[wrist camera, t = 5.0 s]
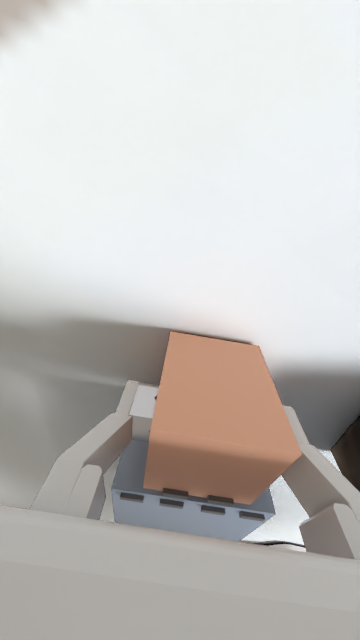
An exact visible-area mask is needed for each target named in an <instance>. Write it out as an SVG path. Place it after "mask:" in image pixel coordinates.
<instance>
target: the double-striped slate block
mask: <svg viewBox="0 0 360 640" xmlns="http://www.w3.org/2000/svg"><path fill="white" fill-rule="evenodd" d="M148 445H149V442H143V441H135V440H131V442H130V444H129V445H128V446H127V447H126V448H125V449H124V451H123V452H122V454H121V458H120V461H119V464H118V468H117V471H116V475H115V478H114V481H113V485H112V488H111V489H112V500H113V510H114V520H115V523H121V524H128V525H134V526H141V527H147V528H154V529H160V530H167V531H173V532H180V533H186V534H193V535H199V536H206V537H213V538H219V539H226V540H232V541H240V540H242V539H243V538H244V537H246V536H247V535H248V534H250V533H251V532H252V531H254V530H255V529H256V528H258V527H259V526H260V525H262V524H263V523H264V522H266V521H267V520H268V519H270V518H271V517H272V516H274V515H275V510H274V505H273V501H272V497H271V493H270V489H269V487H268V488H267V489H266V490H265V491H264V492H263V493H262V494H261V495H260V496H259V497H258V498H257V499H256V500H254V501H253V502H252V503H251V504H250V505H249V504H242V503H236V502H234V505H233V506H225V505H219V504H212V503H207V498H204V497H198V496H191V495H188V499H180V498H174V497H167V496H162V492H163V491H159V490H153V489H146V488H143V483H144V476H145V468H146V460H147V453H148Z"/></svg>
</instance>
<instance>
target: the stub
mask: <svg viewBox="0 0 360 640" xmlns="http://www.w3.org/2000/svg"><path fill="white" fill-rule="evenodd" d="M301 455H302V452H301V450H300V447H299V445H298V442H297V440H296V437H295V435H294V432H293V430H292V427H291V425H290V422H289V420H288V417H287V415H286V412H285V410H284V407H283V405H282V402H281V400H280V397H279V395H278V392H277V390H276V387H275V385H274V382H273V380H272V377H271V375H270V372H269V370H268V367H267V365H266V362H265V360H264V357H263V355H262V352H261V350H260V347H259V346H255V345H249V344H243V343H237V342H231V341H225V340H219V339H213V338H207V337H201V336H195V335H190V334H184V333H178V332H172V331H170V336H169V341H168V346H167V351H166V356H165V361H164V366H163V371H162V375H161V380H160V385H159V390H158V395H157V400H156V405H155V410H154V415H153V420H152V425H151V430H150V437H149V445H148V453H147V460H146V468H145V476H144V483H143V488H146V489H153V490H159V491H163V492H162V496H167V497H174V498H180V499H188V495H191V496H198V497H204V498H207V503H212V504H219V505H225V506H233V505H234V502H236V503H242V504H249V505H250V504H251V503H252V502H253V501H254V500H256V499H257V498H258V497H259V496H260V495H261V494H262V493H263V492H264V491H265V490H266V489H267V488H268V487H269V486H270V485H271V484H272V483H273V482H274V481H275V480H276V479H277V478H278V477H279V476H280V475H281V474H282V473H283V472H284V471H285V470H286V469H287V468H288V467H289V466H290V465H291V464H292V463H293V462H294V461H296V460H297V459H298V458H299V457H300V456H301Z"/></svg>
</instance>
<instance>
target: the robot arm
mask: <svg viewBox="0 0 360 640" xmlns="http://www.w3.org/2000/svg"><path fill="white" fill-rule="evenodd" d="M158 390H159V385H154V384H149V383H143V382H138V381H132V380H128V382H127V383H126V386H125V389H124V391H123V394H122V396H121V399H120V402H119V404H118V407H117V409H116V412H115V413H111V414H109V415H108V416H107V417H106V418H105V419H103V420H102V421H101V422H100V423H99V424H97V425H96V426H95V427H94V428H93V429H91V430H90V431H89V432H88V433H87V434H85V435H84V436H83V437H82V438H81V439H79V440H78V441H77V442H76V443H75V444H73V445H72V446H71V447H70V448H69V449H67V450H66V451H65V452H64V453H63V454H61V455H60V456H59V457H58V458H57V459H56V461H55V463H54V465H53V467H52V468H51V470H50V472H49V474H48V476H47V478H46V480H45V481H44V483H43V485H42V487H41V489H40V491H39V492H38V494H37V496H36V498H35V500H34V502H33V504H32V505H31V507H30V509H23V508H16V507H10V506H3V505H0V640H360V492H359V491H358V490H357V489H356V488H355V487H354V486H353V485H352V484H351V483H350V482H349V481H348V480H347V479H346V478H345V477H344V476H343V475H342V474H341V473H340V472H339V471H338V470H337V469H336V468H335V467H334V466H333V465H332V464H331V463H330V462H329V461H328V460H327V459H326V458H325V457H324V456H323V455H322V454H321V453H320V452H319V451H318V450H317V448H316V447H315V446H314V445H310V444H309V442H308V439H307V437H306V435H305V433H304V431H303V428H302V426H301V424H300V422H299V420H298V417H297V415H296V413H295V411H294V409H293V408H292V407H290V406H284V405H283V407H284V410H285V412H286V415H287V417H288V420H289V422H290V425H291V427H292V430H293V432H294V435H295V437H296V440H297V442H298V445H299V447H300V450H301V452H302V455H301V456H300V457H299V458H298V459H297V460H296V461H294V462H293V463H292V464H291V465H290V466H289V467H288V468H287V469H286V470H285V471H284V472H283V473H282V474H281V475H282V477H283V478H284V480H285V481H286V483H287V484H288V486H289V487H290V489H291V490H292V492H293V493H294V495H295V496H296V498H297V499H298V500H299V502H300V503H301V505H302V506H303V508H304V509H305V511H306V512H307V514H308V515H309V517H310V518H309V519H307V520H305V521H304V522H302V523H301V524H300V526H299V528H300V531H301V535H302V538H303V542H304V545H305V548H304V547H299V546H295V545H290V544H277V545H269V546H265V545H258V544H252V543H245V542H239V541H232V540H226V539H219V538H213V537H206V536H199V535H193V534H186V533H180V532H173V531H167V530H160V529H154V528H147V527H141V526H134V525H128V524H121V523H114V522H108V521H101V520H99V519H100V515H101V512H102V508H103V505H104V501H105V498H106V495H105V488H104V481H103V474H104V473H105V472H106V470H107V469H108V468H109V467H110V466H111V465H112V463H113V462H114V461H115V460H116V459H117V458H118V456H119V455H120V454H121V453H122V452H123V451H124V449H125V448H126V447H127V446H128V445H129V444H130V442H131V440H135V441H143V442H149V437H150V430H151V425H152V420H153V415H154V410H155V405H156V400H157V395H158Z"/></svg>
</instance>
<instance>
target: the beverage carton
mask: <svg viewBox="0 0 360 640" xmlns="http://www.w3.org/2000/svg"><path fill="white" fill-rule="evenodd" d="M331 452H332V454H333V456H334V458H335V460H336V463H337V465H338V467H339V469H340V471H341V473H342V475H343V476H344V477H345V478H346V479H347V480H348V481H349V482H350V483H351V484H352V485H353V486H354V487H355V488H356V489H357V490H358V491H359V492H360V416H359V418H358V419H357V420H356V422H355V423H354V424H352V425H350V427H349V429H348V430H347V432H346V433H345V434H344V436H342V437H341V438H340V440H339V442H338V443H337V444H336V445H335V446H333V447H332V449H331Z"/></svg>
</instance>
